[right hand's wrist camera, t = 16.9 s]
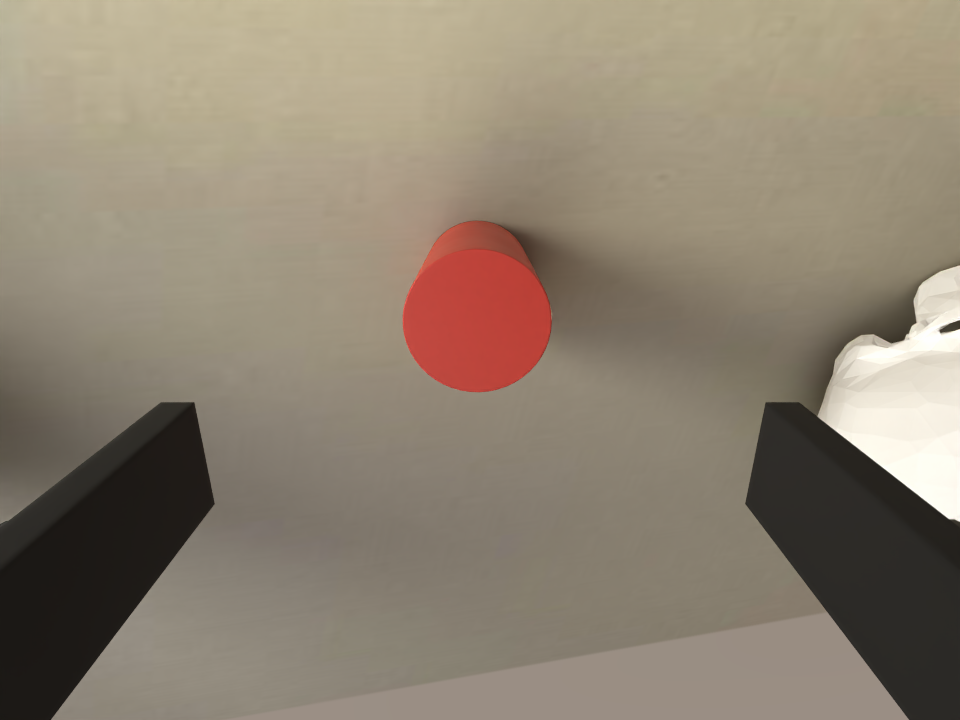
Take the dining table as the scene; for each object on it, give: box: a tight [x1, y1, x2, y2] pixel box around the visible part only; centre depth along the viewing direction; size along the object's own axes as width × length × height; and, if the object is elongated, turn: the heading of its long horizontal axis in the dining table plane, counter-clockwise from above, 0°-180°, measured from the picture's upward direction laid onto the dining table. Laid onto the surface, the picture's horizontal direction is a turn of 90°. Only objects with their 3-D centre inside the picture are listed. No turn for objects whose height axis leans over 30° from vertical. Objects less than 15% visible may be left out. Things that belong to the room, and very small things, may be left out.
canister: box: [403, 221, 552, 392], centre depth 30 cm, size 7×7×12 cm
